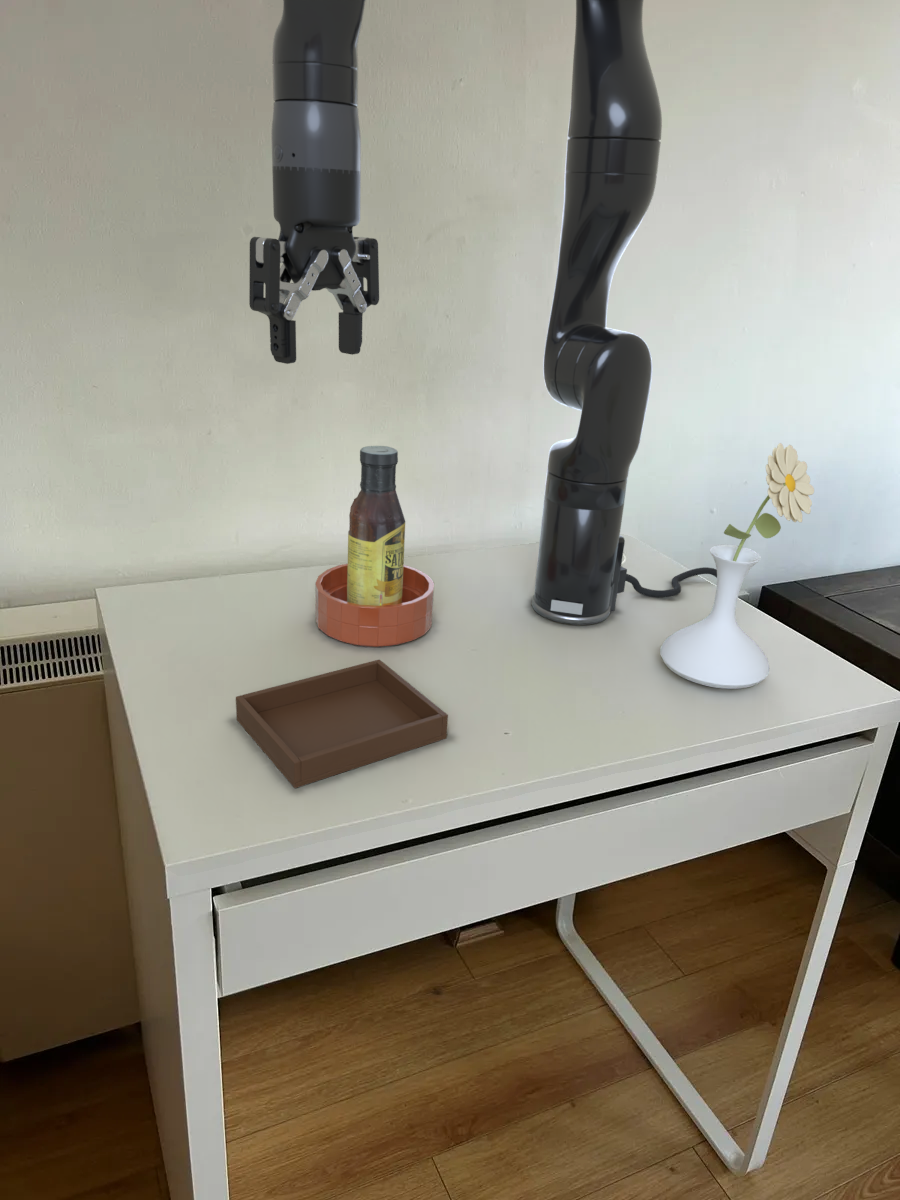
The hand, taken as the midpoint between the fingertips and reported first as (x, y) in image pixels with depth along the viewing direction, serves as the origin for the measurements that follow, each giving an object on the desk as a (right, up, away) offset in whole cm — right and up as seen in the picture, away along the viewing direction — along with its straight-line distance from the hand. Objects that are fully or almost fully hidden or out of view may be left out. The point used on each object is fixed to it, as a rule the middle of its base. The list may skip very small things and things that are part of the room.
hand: (318, 357), depth 84 cm
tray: (+2, -34, -1) cm, 35 cm away
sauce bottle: (+4, -25, +19) cm, 32 cm away
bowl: (+3, -25, +20) cm, 32 cm away
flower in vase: (+41, -30, +13) cm, 53 cm away
